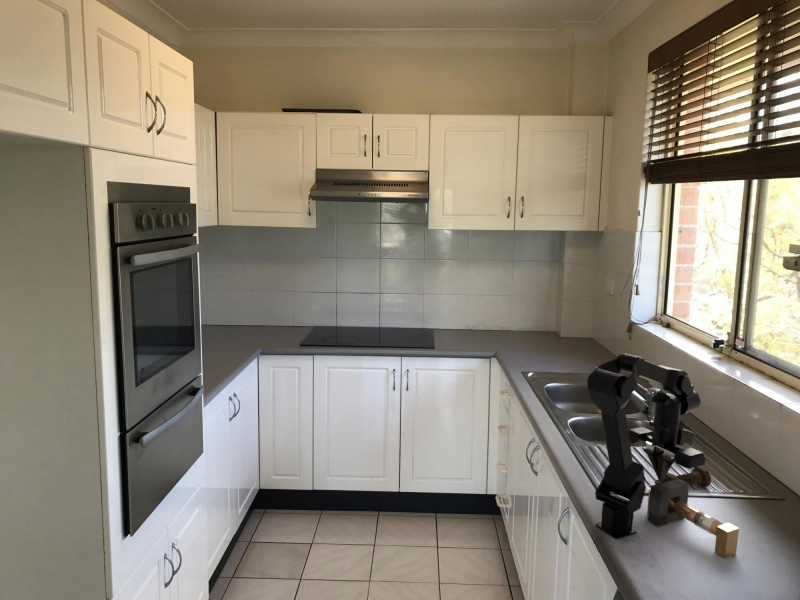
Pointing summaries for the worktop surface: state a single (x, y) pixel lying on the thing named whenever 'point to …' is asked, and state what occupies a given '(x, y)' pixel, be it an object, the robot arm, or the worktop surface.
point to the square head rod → (708, 527)
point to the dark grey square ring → (666, 501)
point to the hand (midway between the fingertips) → (660, 479)
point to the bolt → (691, 477)
